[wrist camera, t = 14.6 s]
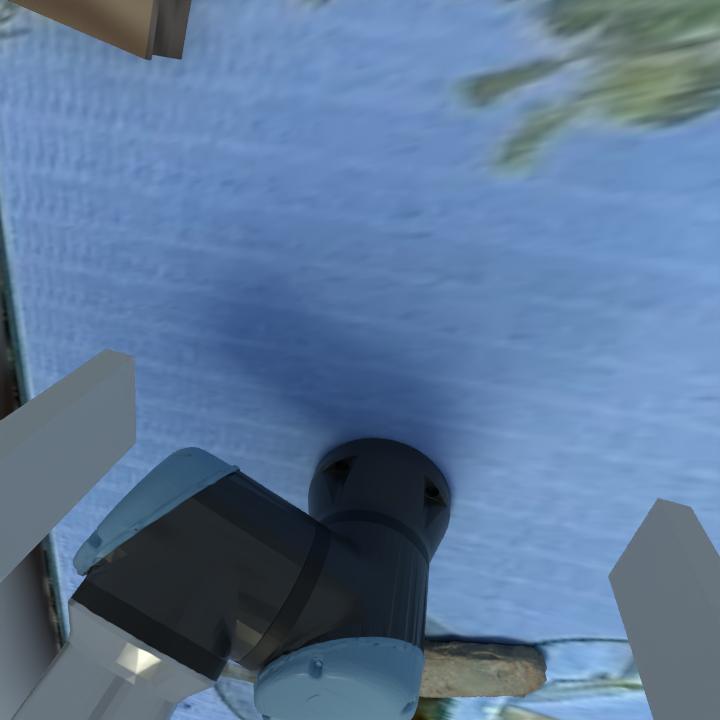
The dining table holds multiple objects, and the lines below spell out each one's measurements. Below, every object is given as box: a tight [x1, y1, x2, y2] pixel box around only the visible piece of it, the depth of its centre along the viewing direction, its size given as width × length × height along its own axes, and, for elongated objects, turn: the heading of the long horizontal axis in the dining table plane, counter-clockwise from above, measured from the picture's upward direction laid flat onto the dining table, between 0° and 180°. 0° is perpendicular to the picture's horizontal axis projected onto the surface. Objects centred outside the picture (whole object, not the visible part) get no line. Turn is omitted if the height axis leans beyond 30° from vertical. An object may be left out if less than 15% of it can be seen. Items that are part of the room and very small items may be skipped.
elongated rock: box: [419, 640, 547, 698], centre depth 66 cm, size 35×5×10 cm
